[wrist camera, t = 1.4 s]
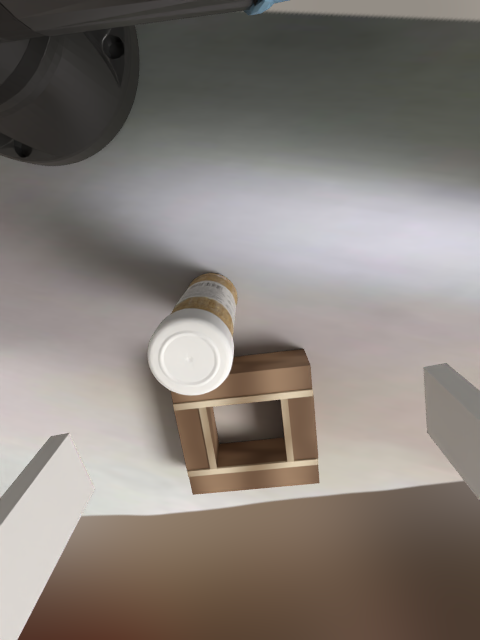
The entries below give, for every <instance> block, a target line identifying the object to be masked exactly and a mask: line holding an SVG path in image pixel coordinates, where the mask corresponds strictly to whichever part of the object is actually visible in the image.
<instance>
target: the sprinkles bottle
mask: <svg viewBox="0 0 480 640" xmlns="http://www.w3.org/2000/svg"><path fill="white" fill-rule="evenodd" d="M236 304H237V292H236V289H235V287H234V285H233V284H232V283H231V281H230V280H228V279H227V278H226V277H224V276H222V275H219V274H214V273H207V274H203V275H200V276H199V277H197V278H196V279H194V280H193V281H192V282H191V284H190V285H189V287H188V289H187V290H186V292H185V293H184V294H183V296H182V297H181V298H180V300H179V301H178V302H177V304H176V305H175V307H174V309H173V311H172V313H171V314H170V315H169V316H167V317H166V318H165V319H164V320H163V321H162V322H161V323H160V325H159V326H158V327H157V329H156V331H155V332H154V334H153V335H152V337H151V339H150V342H149V345H148V351H147V357H148V363H149V367H150V369H151V371H152V373H153V375H154V376H155V378H156V379H157V380H158V381H159V382H160V383H161V384H162V385H163V386H164V387H166V388H167V389H169V390H171V391H173V392H176V393H178V394H182V395H191V396H192V395H201V394H205V393H208V392H210V391H212V390H214V389H216V388H217V387H218V386H220V385H221V384H222V383H223V382H224V380H225V379H226V378H227V376H228V374H229V372H230V370H231V367H232V362H233V355H234V343H233V338H232V337H233V331H234V321H235V312H236Z"/></svg>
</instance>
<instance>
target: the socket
mask: <svg viewBox="0 0 480 640" xmlns="http://www.w3.org/2000/svg"><path fill="white" fill-rule="evenodd" d="M170 391H171V390H170ZM171 395H172V400H173V407H174V413H175V417H176V422H177V426H178V431H179V436H180V440H181V445H182V450H183V454H184V459H185V464H186V468H187V470H188V471H187V472H188V477H189V479H190V484H191V488H192V493H193V495H194V494H205V493H216V492H227V491H238V490H249V489H260V488H271V487H282V486H293V485H304V484H315V483H319V471H318V449H317V436H316V423H315V410H314V397H313V390H312V380H311V367H310V363H309V361H308V358H307V356H306V353H305V351H304V349H299V350H291V351H282V352H273V353H264V354H255V355H246V356H238V357H233V362H232V367H231V370H230V372H229V374H228V376H227V378H226V379H225V380H224V382H223V383H222V384H221V385H220V386H218V387H217V388H216V389H214V390H212V391H210V392H208V393H205V394H201V395H192V396H191V395H182V394H178V393H176V392H173V391H171ZM271 400H280V405H281V414H282V423H283V432H284V438H274V439H264V440H254V441H244V442H234V443H224V444H219V440H218V434H217V428H216V423H215V417H214V412H213V407H214V406H223V405H233V404H242V403H252V402H261V401H271Z"/></svg>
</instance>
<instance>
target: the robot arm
mask: <svg viewBox="0 0 480 640" xmlns="http://www.w3.org/2000/svg"><path fill="white" fill-rule="evenodd" d="M283 1H288V0H0V155H2V156H5V157H8V158H11V159H14V160H18V161H23V162H27V163H32V164H37V165H45V166H60V165H68V164H72V163H76V162H79V161H82V160H84V159H86V158H88V157H90V156H92V155H94V154H96V153H97V152H99V151H100V150H101V149H103V148H104V147H105V146H106V145H107V144H108V143H109V142H110V141H111V140H112V139H113V138H114V137H115V136H116V134H117V133H118V132H119V131H120V129H121V128H122V126H123V124H124V123H125V121H126V119H127V117H128V115H129V113H130V110H131V108H132V105H133V102H134V98H135V95H136V90H137V85H138V78H139V48H138V40H137V34H136V29H135V25H138V24H146V23H153V22H161V21H169V20H176V19H184V18H191V17H199V16H206V15H214V14H221V13H229V12H236V11H244V12H245V13H246V14H247V15H256V14H260V13H262V12H264V11H266V10H267V9H269V8H270V7H271V6H272V5H273V4H274V3H278V2H283ZM424 385H425V403H426V421H427V433H428V434H429V435H430V437H431V438H432V439H433V441H434V442H435V443H436V445H437V446H438V447H439V448H440V450H441V451H442V452H443V454H444V455H445V456H446V458H447V459H448V460H449V461H450V463H451V464H452V465H453V467H454V468H455V469H456V471H457V472H458V473H459V474H460V476H461V477H462V478H463V480H464V481H465V482H466V484H467V485H468V486H469V487H470V489H471V490H472V491H473V493H474V494H475V495H476V497H477V498H478V499H479V501H480V391H479V390H478V389H477V388H476V387H474V386H473V385H472V384H471V383H470V382H468V381H467V380H466V379H465V378H464V377H462V376H461V375H460V374H459V373H458V372H456V371H455V370H454V369H453V368H452V367H450V366H449V365H448V364H447V363H444V364H439V365H433V366H428V367H424ZM94 490H95V487H94V485H93V483H92V481H91V479H90V476H89V474H88V472H87V470H86V468H85V466H84V463H83V461H82V459H81V457H80V455H79V453H78V450H77V448H76V446H75V444H74V442H73V440H72V437H71V435H70V433H67V434H61V435H56V436H51V437H50V438H49V439H48V440H47V442H46V443H45V444H44V445H43V447H42V448H41V449H40V450H39V451H38V453H37V454H36V455H35V456H34V458H33V459H32V460H31V461H30V463H29V464H28V465H27V466H26V467H25V469H24V470H23V471H22V472H21V474H20V475H19V476H18V477H17V479H16V480H15V481H14V482H13V483H12V485H11V486H10V487H9V488H8V490H7V491H6V492H5V493H4V494H3V496H2V497H1V498H0V640H17V639H18V637H19V635H20V633H21V631H22V630H23V628H24V626H25V624H26V622H27V620H28V618H29V616H30V614H31V612H32V610H33V608H34V606H35V604H36V602H37V600H38V598H39V596H40V595H41V593H42V591H43V589H44V587H45V585H46V583H47V581H48V579H49V577H50V575H51V573H52V571H53V569H54V568H55V565H56V564H57V561H58V560H59V558H60V556H61V554H62V552H63V550H64V548H65V546H66V544H67V542H68V540H69V538H70V536H71V535H72V533H73V531H74V529H75V527H76V525H77V523H78V521H79V519H80V517H81V515H82V513H83V511H84V509H85V507H86V505H87V504H88V502H89V500H90V498H91V496H92V494H93V492H94Z"/></svg>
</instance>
